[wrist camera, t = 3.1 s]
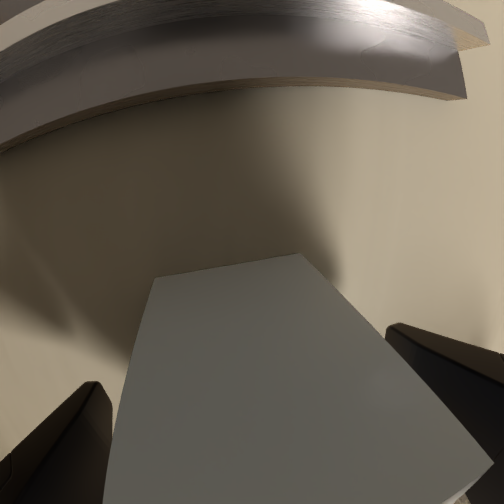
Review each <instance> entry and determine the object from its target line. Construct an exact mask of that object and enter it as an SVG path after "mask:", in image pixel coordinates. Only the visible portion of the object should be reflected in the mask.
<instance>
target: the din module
mask: <svg viewBox="0 0 504 504" xmlns="http://www.w3.org/2000/svg"><path fill="white" fill-rule="evenodd" d="M493 464H494V462H493V461H492V460H491V458H490V457H489V456H488V455H487V454H486V452H485V451H484V450H483V449H482V448H481V446H480V445H479V444H478V443H477V442H476V440H475V439H474V438H473V437H472V436H471V434H470V433H469V432H468V431H467V430H466V429H465V427H464V426H463V425H462V424H461V423H460V422H459V421H458V419H457V418H456V417H455V416H454V415H453V414H452V412H451V411H450V410H449V409H448V408H447V407H446V406H445V404H444V403H443V402H442V401H441V400H440V399H439V398H438V397H437V395H436V394H435V393H434V392H433V391H432V390H431V389H430V388H429V387H428V385H427V384H426V383H425V382H424V381H423V380H422V379H421V378H420V377H419V376H418V374H417V373H416V372H415V371H414V370H413V369H412V368H411V367H410V366H409V365H408V364H407V362H406V361H405V360H404V359H403V358H402V357H401V356H400V355H399V354H398V353H397V352H396V351H395V350H394V349H393V347H392V346H391V345H390V344H389V343H388V342H387V341H386V340H385V339H384V338H383V337H382V336H381V335H380V334H379V333H378V332H377V331H376V329H375V328H374V327H373V326H372V325H371V324H370V323H369V322H368V321H367V320H366V319H365V318H364V317H363V316H362V315H361V314H360V313H359V312H358V311H357V310H356V309H355V308H354V307H353V306H352V305H351V304H350V303H349V302H348V301H347V299H346V298H345V297H344V296H343V295H342V294H341V293H340V292H339V291H338V290H337V289H336V288H335V287H334V286H333V285H332V284H331V283H330V282H329V281H328V280H327V279H326V278H325V277H324V276H323V275H322V274H321V273H320V272H319V271H318V270H317V269H316V268H315V267H314V266H313V265H312V264H311V263H310V262H309V261H308V260H307V259H306V258H305V257H304V256H303V255H302V254H301V253H297V254H291V255H285V256H280V257H274V258H268V259H263V260H257V261H251V262H245V263H240V264H234V265H228V266H222V267H217V268H211V269H205V270H199V271H193V272H187V273H181V274H175V275H169V276H163V277H157V278H155V279H154V282H153V285H152V288H151V291H150V294H149V297H148V300H147V304H146V307H145V310H144V313H143V317H142V320H141V323H140V327H139V330H138V334H137V337H136V341H135V344H134V348H133V352H132V355H131V359H130V363H129V367H128V371H127V375H126V379H125V383H124V387H123V391H122V395H121V400H120V404H119V409H118V413H117V418H116V423H115V428H114V433H113V438H112V444H111V449H110V455H109V461H108V467H107V474H106V481H105V488H104V496H103V504H452V503H454V502H455V501H456V500H457V499H458V498H459V497H461V496H462V495H463V494H464V493H465V492H466V491H467V490H468V489H469V488H470V487H471V486H472V485H473V484H474V483H476V482H477V481H478V480H479V479H480V478H481V477H482V475H483V474H484V473H485V472H486V471H487V470H488V469H489V468H490V467H491V466H492V465H493Z"/></svg>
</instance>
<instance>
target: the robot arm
mask: <svg viewBox="0 0 504 504" xmlns="http://www.w3.org/2000/svg"><path fill="white" fill-rule="evenodd" d="M385 340H386V341H387V342H388V343H389V344H390V345H391V346H392V347H393V349H394V350H395V351H396V352H397V353H398V354H399V355H400V356H401V357H402V358H403V359H404V360H405V361H406V362H407V364H408V365H409V366H410V367H411V368H412V369H413V370H414V371H415V372H416V373H417V374H418V376H419V377H420V378H421V379H422V380H423V381H424V382H425V383H426V384H427V385H428V387H429V388H430V389H431V390H432V391H433V392H434V393H435V394H436V395H437V397H438V398H439V399H440V400H441V401H442V402H443V403H444V404H445V406H446V407H447V408H448V409H449V410H450V411H451V412H452V414H453V415H454V416H455V417H456V418H457V419H458V421H459V422H460V423H461V424H462V425H463V426H464V427H465V429H466V430H467V431H468V432H469V433H470V434H471V436H472V437H473V438H474V439H475V440H476V442H477V443H478V444H479V445H480V446H481V448H482V449H483V450H484V451H485V452H486V454H487V455H488V456H489V457H490V458H491V460H492V461H493V462H494V464H493V465H492V466H491V467H490V468H489V469H488V470H487V471H486V472H485V473H484V474H483V475H482V477H481V478H480V479H479V480H478V481H477V482H476V483H474V484H473V485H472V486H471V487H470V488H469V489H468V490H467V491H466V492H465V495H466V496H467V498H468V500H469V502H470V504H504V354H501V353H500V354H499V353H498V352H494V351H491V350H488V349H484V348H481V347H477V346H474V345H471V344H467V343H464V342H461V341H458V340H454V339H451V338H448V337H445V336H441V335H438V334H435V333H432V332H428V331H425V330H422V329H419V328H416V327H413V326H409V325H406V324H403V323H396V324H393V325H390V326H388V327H387V329H386V334H385ZM112 411H113V408H112V403H111V401H110V399H109V397H108V395H107V394H106V392H105V390H104V388H103V386H102V385H101V383H100V382H98V381H87V382H85V383H84V384H83V385H81V386H80V387H79V388H78V389H77V390H76V391H75V392H74V393H73V394H72V395H71V396H70V397H68V398H67V399H66V400H65V401H64V402H63V403H62V404H61V405H60V406H59V407H58V408H57V409H56V410H54V411H53V412H52V413H51V414H50V415H49V416H48V417H47V418H46V419H45V420H44V421H43V422H42V423H41V424H39V425H38V426H37V427H36V428H35V429H34V430H33V431H32V432H31V433H30V434H29V435H28V436H27V437H26V438H25V439H24V440H23V441H21V442H20V443H19V444H18V445H17V446H16V447H15V448H14V449H13V450H12V451H11V453H9V454H8V455H7V456H6V457H5V458H4V459H3V460H2V461H0V504H103V496H104V488H105V481H106V474H107V467H108V461H109V455H110V449H111V444H112Z"/></svg>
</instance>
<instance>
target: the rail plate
mask: <svg viewBox="0 0 504 504" xmlns="http://www.w3.org/2000/svg"><path fill="white" fill-rule="evenodd" d="M487 45H490V42H489V38H488V35H487V32H486V29H485V25H484V22H482V21H480V20H479V19H477V18H475V17H473V16H472V15H470V14H468V13H466V12H464V11H463V10H461V9H459V8H457V7H455V6H453V5H451V4H449V3H447V2H445V1H443V0H0V153H2V152H4V151H6V150H8V149H10V148H12V147H14V146H16V145H19V144H21V143H23V142H25V141H28V140H30V139H33V138H35V137H37V136H40V135H42V134H45V133H47V132H50V131H53V130H55V129H58V128H61V127H64V126H66V125H69V124H72V123H75V122H78V121H81V120H84V119H88V118H91V117H94V116H97V115H101V114H104V113H108V112H112V111H115V110H119V109H123V108H127V107H131V106H135V105H139V104H144V103H148V102H153V101H158V100H163V99H168V98H174V97H180V96H186V95H192V94H199V93H206V92H214V91H222V90H232V89H243V88H256V87H275V86H334V87H352V88H365V89H376V90H385V91H394V92H401V93H408V94H414V95H420V96H426V97H432V98H437V99H442V100H446V101H448V100H459V99H467V94H466V88H465V82H464V77H463V72H462V67H461V62H460V58H459V54H458V51H463V50H467V49H472V48H477V47H482V46H487Z"/></svg>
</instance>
